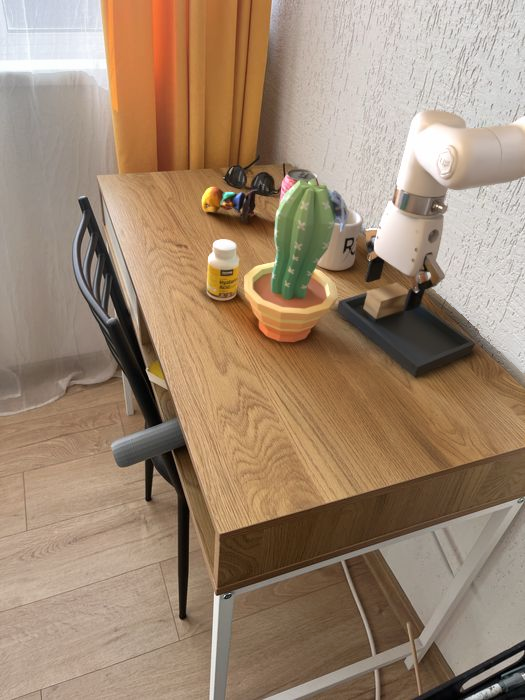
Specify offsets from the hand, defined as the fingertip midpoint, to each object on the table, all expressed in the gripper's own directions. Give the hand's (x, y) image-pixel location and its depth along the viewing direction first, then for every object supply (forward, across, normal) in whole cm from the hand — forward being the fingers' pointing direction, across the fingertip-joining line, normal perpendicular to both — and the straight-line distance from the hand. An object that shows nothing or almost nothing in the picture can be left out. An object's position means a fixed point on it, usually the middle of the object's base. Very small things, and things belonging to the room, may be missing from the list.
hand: (390, 294), depth 91 cm
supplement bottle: (+5, +18, +23) cm, 30 cm away
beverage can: (+4, +36, -5) cm, 36 cm away
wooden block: (+4, 0, 0) cm, 4 cm away
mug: (+5, +20, -5) cm, 22 cm away
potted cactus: (+5, +6, +18) cm, 19 cm away
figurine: (+4, +46, +6) cm, 46 cm away
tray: (+5, -4, 0) cm, 7 cm away
